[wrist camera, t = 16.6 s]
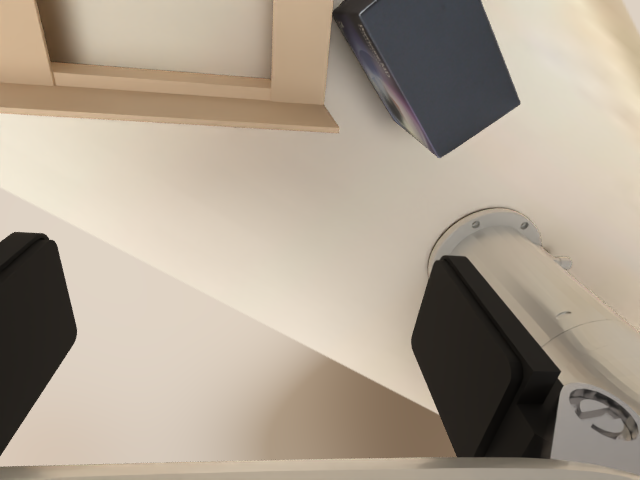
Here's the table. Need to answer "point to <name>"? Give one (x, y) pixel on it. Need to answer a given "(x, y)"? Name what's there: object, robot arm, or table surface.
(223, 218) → the table surface
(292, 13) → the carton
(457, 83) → the small box
